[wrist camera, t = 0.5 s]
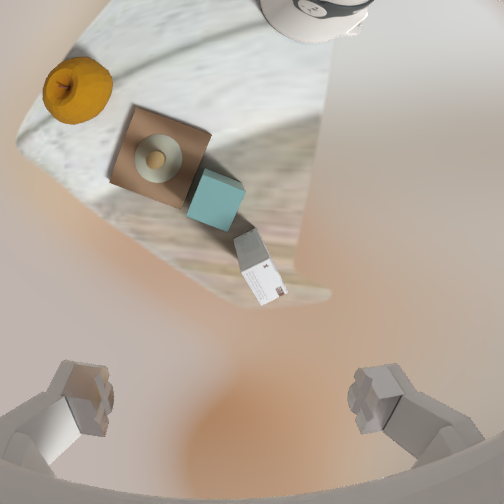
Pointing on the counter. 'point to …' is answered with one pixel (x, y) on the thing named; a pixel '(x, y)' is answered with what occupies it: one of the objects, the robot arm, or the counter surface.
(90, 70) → the apple
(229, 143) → the counter surface
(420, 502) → the robot arm
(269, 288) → the skincare box
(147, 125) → the tan plate with disc
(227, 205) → the teal cube box
